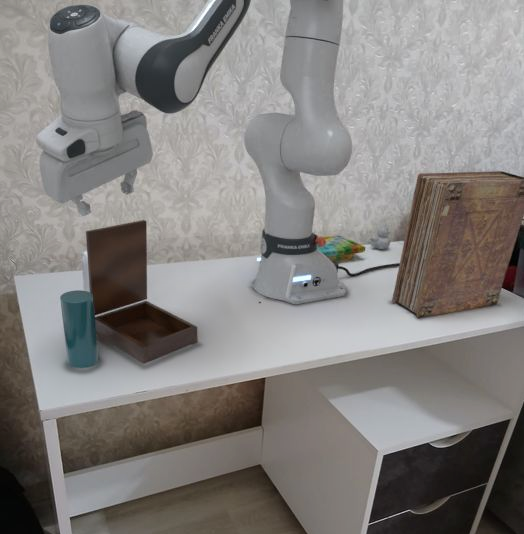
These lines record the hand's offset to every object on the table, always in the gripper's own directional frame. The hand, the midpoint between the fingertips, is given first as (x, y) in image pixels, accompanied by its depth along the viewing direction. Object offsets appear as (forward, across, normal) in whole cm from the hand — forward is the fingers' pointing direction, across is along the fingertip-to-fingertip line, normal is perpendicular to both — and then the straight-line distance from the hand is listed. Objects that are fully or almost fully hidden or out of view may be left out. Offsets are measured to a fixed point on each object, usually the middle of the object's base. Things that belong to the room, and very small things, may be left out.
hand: (106, 202), depth 97 cm
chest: (+23, +5, +12) cm, 26 cm away
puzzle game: (+42, -61, +10) cm, 75 cm away
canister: (+20, +18, +11) cm, 29 cm away
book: (+33, -58, +47) cm, 82 cm away
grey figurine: (+46, -81, +17) cm, 95 cm away
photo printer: (+28, -1, -7) cm, 29 cm away
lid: (+12, +1, +3) cm, 13 cm away
